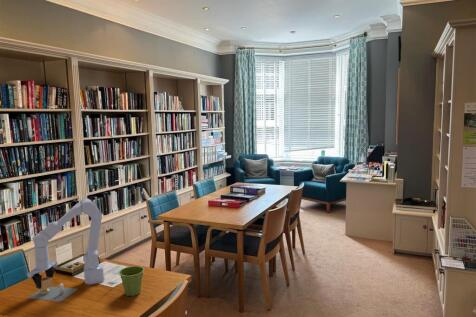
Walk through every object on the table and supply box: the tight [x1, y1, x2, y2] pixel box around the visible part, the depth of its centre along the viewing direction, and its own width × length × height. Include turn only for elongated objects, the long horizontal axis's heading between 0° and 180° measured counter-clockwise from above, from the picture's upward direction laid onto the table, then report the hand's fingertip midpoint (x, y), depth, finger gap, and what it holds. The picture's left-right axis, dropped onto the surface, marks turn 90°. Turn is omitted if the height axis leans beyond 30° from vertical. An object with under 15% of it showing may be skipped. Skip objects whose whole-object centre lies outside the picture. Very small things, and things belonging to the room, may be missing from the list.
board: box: [27, 283, 78, 302], centre depth 166 cm, size 18×12×6 cm, turn 78°
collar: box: [35, 275, 54, 290], centre depth 167 cm, size 5×5×4 cm
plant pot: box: [118, 265, 145, 297], centre depth 168 cm, size 12×12×11 cm
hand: (44, 285), depth 167 cm, fingers closed on collar, 5 cm apart
